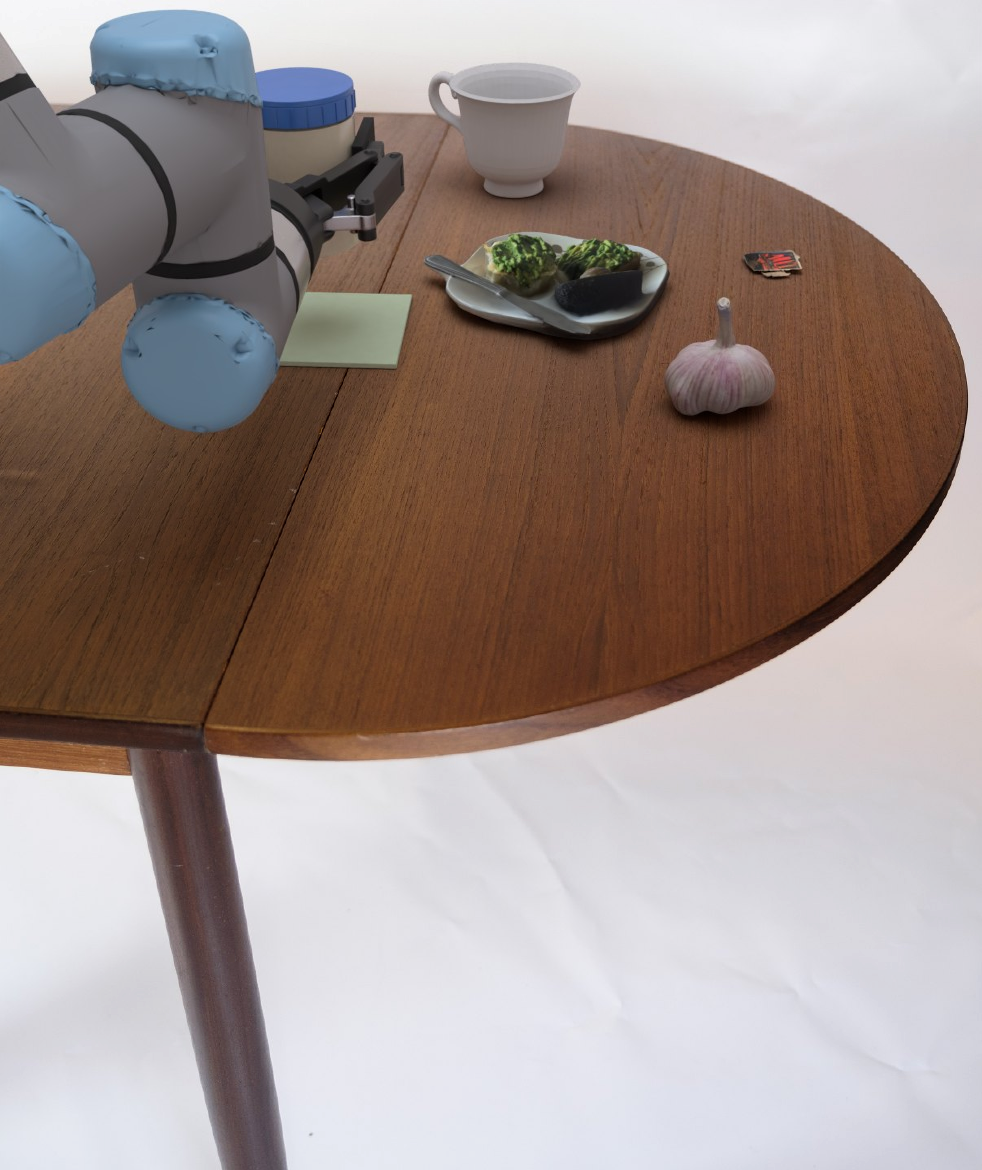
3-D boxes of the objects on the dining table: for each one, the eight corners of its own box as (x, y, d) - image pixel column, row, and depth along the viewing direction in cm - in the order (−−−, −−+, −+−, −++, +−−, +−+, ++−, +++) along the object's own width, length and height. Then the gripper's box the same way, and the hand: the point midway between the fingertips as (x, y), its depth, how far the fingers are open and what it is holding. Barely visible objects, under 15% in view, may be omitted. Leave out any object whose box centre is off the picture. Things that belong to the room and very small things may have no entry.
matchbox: (736, 257, 110) (737, 252, 109) (791, 251, 111) (791, 246, 111) (760, 279, 106) (761, 274, 106) (816, 273, 107) (817, 267, 107)
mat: (207, 364, 94) (206, 359, 94) (240, 294, 104) (239, 290, 104) (396, 369, 94) (396, 364, 94) (412, 299, 103) (412, 294, 103)
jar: (243, 259, 91) (223, 108, 85) (264, 216, 98) (248, 74, 91) (354, 260, 91) (343, 109, 85) (368, 218, 97) (359, 75, 91)
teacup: (459, 155, 131) (458, 52, 125) (595, 177, 125) (600, 72, 119) (402, 193, 122) (398, 85, 116) (544, 219, 117) (548, 107, 111)
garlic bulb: (658, 425, 87) (668, 317, 83) (666, 375, 93) (676, 271, 88) (770, 436, 86) (788, 327, 82) (771, 384, 92) (788, 280, 87)
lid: (223, 129, 86) (220, 101, 84) (248, 92, 92) (245, 66, 91) (346, 130, 85) (345, 103, 84) (362, 93, 92) (361, 67, 91)
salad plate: (382, 318, 100) (379, 262, 98) (471, 236, 114) (471, 185, 111) (617, 363, 95) (622, 305, 92) (683, 271, 108) (688, 218, 105)
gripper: (89, 313, 79) (178, 183, 97) (426, 319, 78) (453, 187, 96) (64, 194, 74) (163, 81, 93) (421, 199, 74) (450, 84, 92)
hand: (310, 135), depth 94 cm, fingers closed on jar, 8 cm apart
